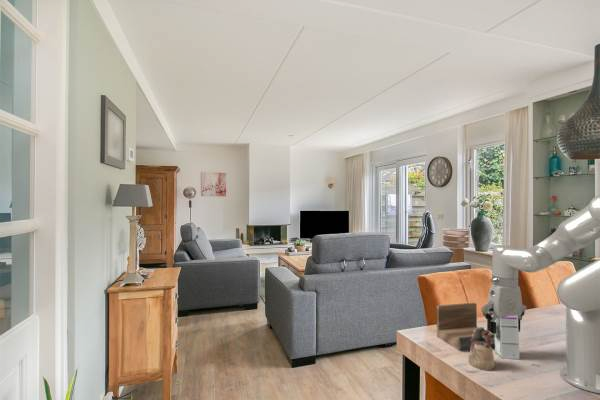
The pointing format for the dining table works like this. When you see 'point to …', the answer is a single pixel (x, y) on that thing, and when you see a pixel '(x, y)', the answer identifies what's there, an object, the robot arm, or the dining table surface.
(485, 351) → the figurine
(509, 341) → the syrup box
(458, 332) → the shelf
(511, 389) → the dining table surface
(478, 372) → the dining table surface
